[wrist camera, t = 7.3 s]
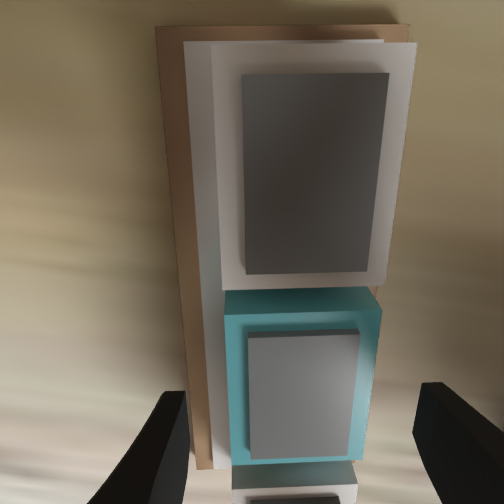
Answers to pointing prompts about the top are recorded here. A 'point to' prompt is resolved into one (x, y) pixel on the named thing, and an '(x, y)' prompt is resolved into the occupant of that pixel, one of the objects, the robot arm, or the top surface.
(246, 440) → the module
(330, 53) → the board
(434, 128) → the top surface
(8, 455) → the top surface
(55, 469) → the top surface
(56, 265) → the top surface
